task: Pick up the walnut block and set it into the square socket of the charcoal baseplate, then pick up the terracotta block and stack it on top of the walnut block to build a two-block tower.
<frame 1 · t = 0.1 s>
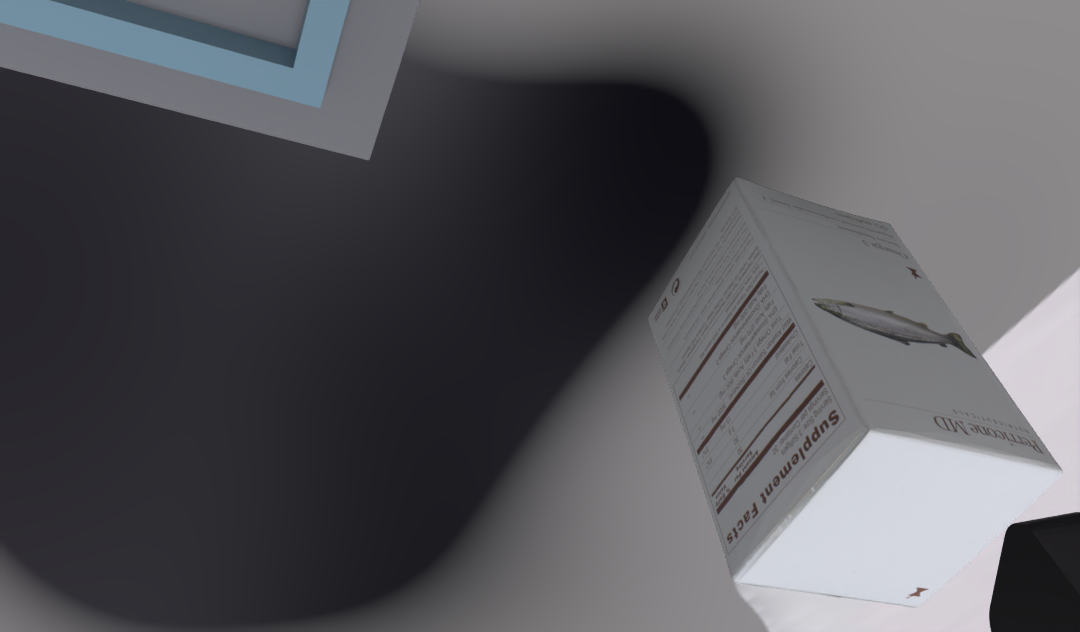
supplement box: (762, 266, 38), on the table
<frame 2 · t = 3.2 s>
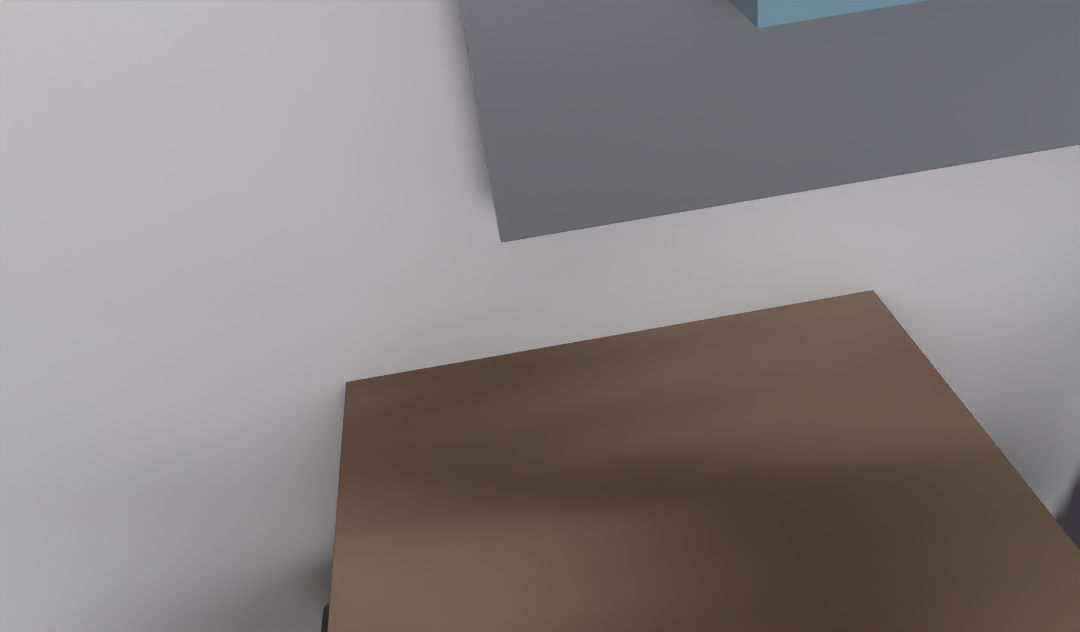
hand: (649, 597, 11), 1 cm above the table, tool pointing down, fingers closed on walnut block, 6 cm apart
walnut block: (631, 524, 12), on the table, touching gripper
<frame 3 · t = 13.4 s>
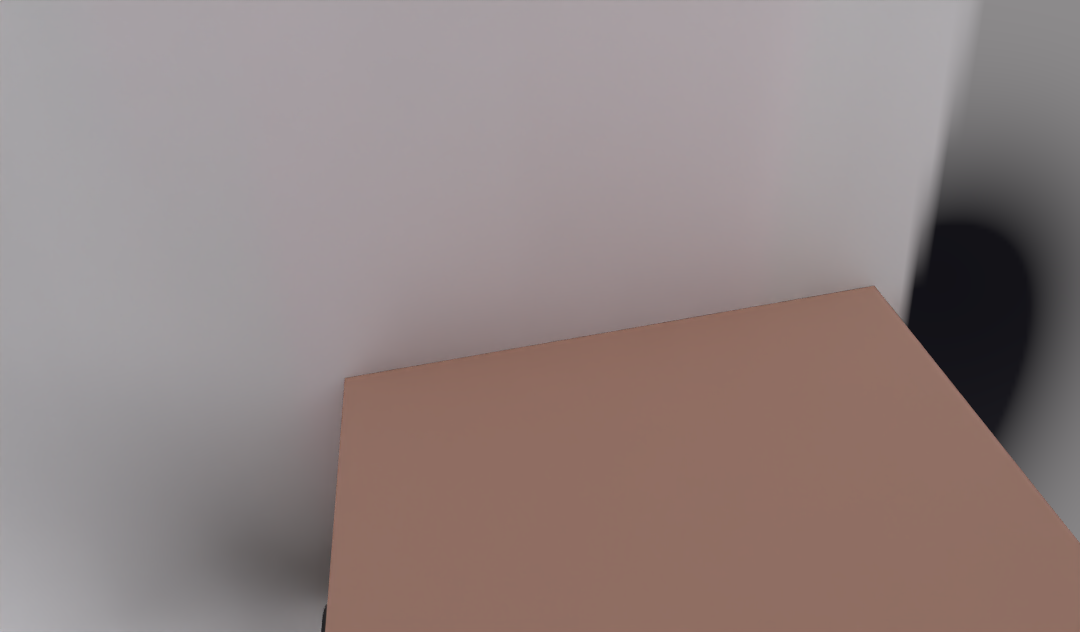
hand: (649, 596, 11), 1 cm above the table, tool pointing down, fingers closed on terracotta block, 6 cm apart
terracotta block: (631, 521, 12), on the table, touching gripper
when the fingers open (10 cm above the table, at t = 18.0 s): terracotta block drops 1 cm, resting on walnut block.
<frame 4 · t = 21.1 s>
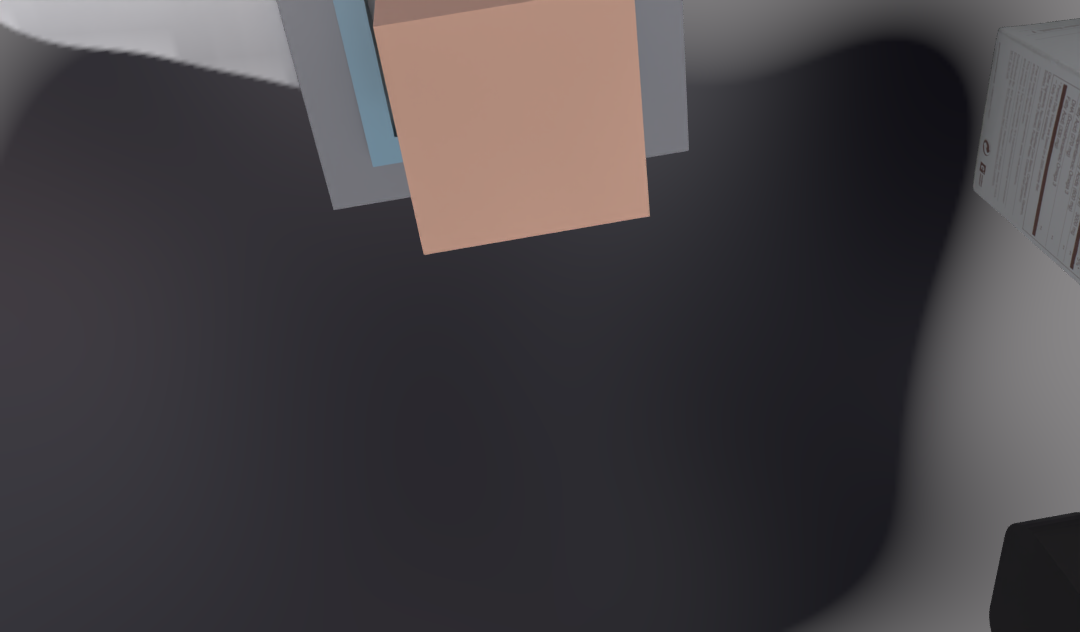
supplement box: (1061, 97, 40), on the table
terracotta block: (500, 51, 28), point 7 cm above the table, touching walnut block
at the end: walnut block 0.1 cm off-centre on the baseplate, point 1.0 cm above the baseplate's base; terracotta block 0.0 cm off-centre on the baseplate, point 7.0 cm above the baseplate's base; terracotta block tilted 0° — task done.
